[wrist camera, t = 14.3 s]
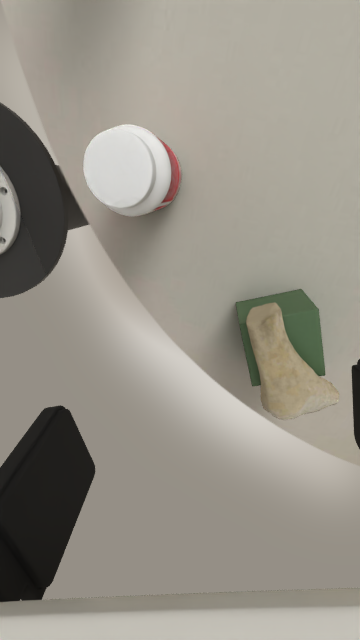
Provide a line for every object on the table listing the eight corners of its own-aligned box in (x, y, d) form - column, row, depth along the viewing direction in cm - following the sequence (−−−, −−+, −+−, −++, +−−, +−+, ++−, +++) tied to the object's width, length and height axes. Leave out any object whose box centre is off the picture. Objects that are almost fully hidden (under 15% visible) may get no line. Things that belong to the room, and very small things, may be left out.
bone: (335, 385, 30) (354, 420, 25) (277, 413, 32) (286, 449, 27) (272, 295, 27) (282, 317, 23) (214, 332, 29) (213, 358, 25)
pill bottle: (154, 124, 28) (120, 88, 18) (195, 181, 30) (184, 177, 20) (107, 171, 30) (51, 162, 20) (147, 223, 32) (114, 238, 22)
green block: (246, 356, 36) (252, 386, 31) (235, 302, 34) (239, 324, 28) (308, 346, 35) (325, 375, 30) (301, 288, 33) (318, 308, 27)
